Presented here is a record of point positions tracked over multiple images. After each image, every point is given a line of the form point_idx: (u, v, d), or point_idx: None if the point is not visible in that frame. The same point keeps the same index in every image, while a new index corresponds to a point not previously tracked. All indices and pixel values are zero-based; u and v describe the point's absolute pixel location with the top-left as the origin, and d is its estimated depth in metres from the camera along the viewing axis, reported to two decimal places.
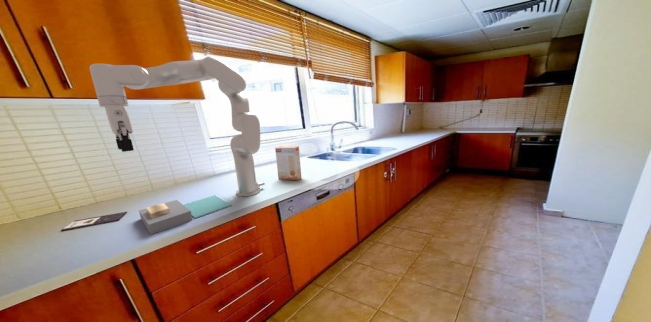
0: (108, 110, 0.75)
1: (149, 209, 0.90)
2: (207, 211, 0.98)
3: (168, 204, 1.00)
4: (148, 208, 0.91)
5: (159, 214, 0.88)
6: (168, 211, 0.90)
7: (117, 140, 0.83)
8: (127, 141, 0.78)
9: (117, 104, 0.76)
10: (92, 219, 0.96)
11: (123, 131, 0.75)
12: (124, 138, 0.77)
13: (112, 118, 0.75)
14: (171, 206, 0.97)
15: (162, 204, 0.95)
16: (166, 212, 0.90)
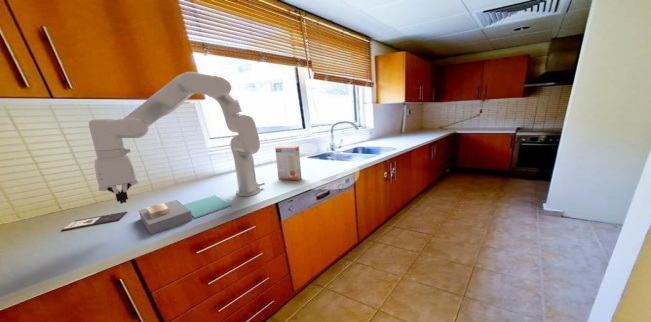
0: (126, 161, 0.81)
1: (149, 209, 0.90)
2: (207, 211, 0.98)
3: (168, 204, 1.00)
4: (148, 208, 0.91)
5: (159, 214, 0.88)
6: (168, 211, 0.90)
7: (121, 194, 0.81)
8: None
9: (125, 155, 0.82)
10: (93, 219, 0.96)
11: (134, 184, 0.85)
12: None
13: (132, 167, 0.83)
14: (171, 206, 0.97)
15: (162, 204, 0.95)
16: (166, 212, 0.90)
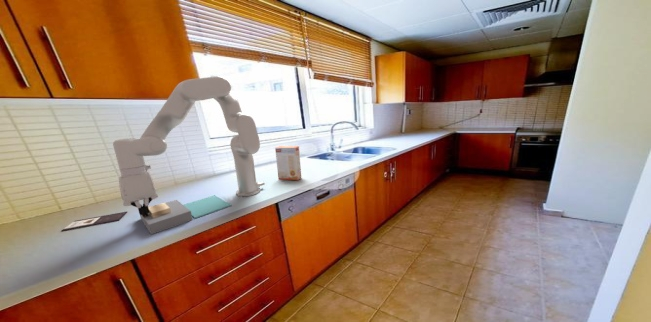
0: (147, 177, 0.86)
1: (150, 209, 0.90)
2: (207, 211, 0.98)
3: (168, 204, 1.00)
4: (149, 208, 0.91)
5: (160, 214, 0.89)
6: (169, 211, 0.91)
7: (143, 208, 0.87)
8: (147, 205, 0.89)
9: None
10: (93, 219, 0.96)
11: None
12: None
13: (153, 182, 0.88)
14: (171, 206, 0.97)
15: (163, 204, 0.95)
16: (167, 212, 0.90)
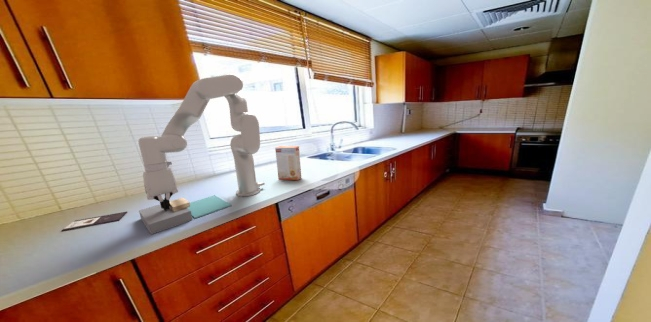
0: (169, 172, 0.91)
1: (171, 203, 0.95)
2: (207, 211, 0.98)
3: None
4: (170, 202, 0.96)
5: (180, 208, 0.93)
6: (188, 205, 0.95)
7: (165, 202, 0.92)
8: (168, 200, 0.94)
9: None
10: (93, 219, 0.96)
11: None
12: None
13: (174, 178, 0.93)
14: None
15: (183, 198, 1.00)
16: (187, 206, 0.95)
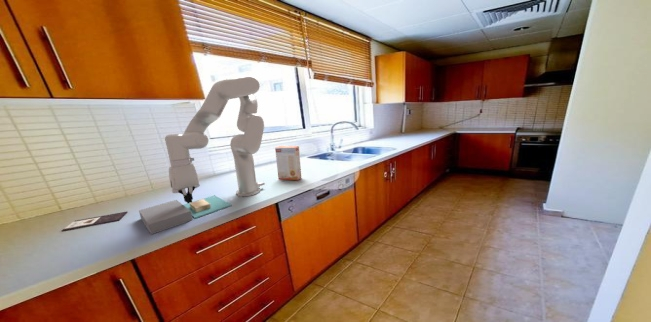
0: (192, 168, 0.97)
1: None
2: (207, 211, 0.98)
3: (168, 204, 1.00)
4: None
5: (204, 206, 1.00)
6: (196, 209, 0.98)
7: (188, 195, 0.98)
8: None
9: None
10: (93, 219, 0.96)
11: None
12: None
13: (196, 173, 0.99)
14: (171, 206, 0.97)
15: None
16: (198, 208, 0.98)
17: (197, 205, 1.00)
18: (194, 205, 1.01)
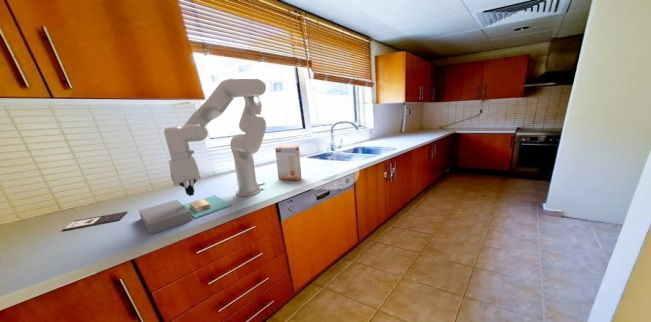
0: (192, 160, 0.97)
1: None
2: (207, 211, 0.98)
3: (168, 204, 1.00)
4: None
5: (204, 206, 1.00)
6: (196, 209, 0.98)
7: (189, 188, 0.98)
8: (192, 186, 1.00)
9: None
10: (93, 219, 0.96)
11: None
12: None
13: None
14: (171, 206, 0.97)
15: None
16: (198, 208, 0.98)
17: (197, 205, 1.00)
18: (194, 205, 1.01)
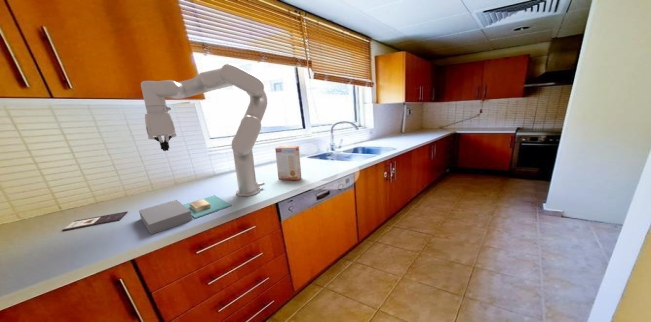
0: (168, 116, 1.01)
1: None
2: (207, 211, 0.98)
3: (168, 204, 1.00)
4: None
5: (204, 206, 1.00)
6: (196, 209, 0.98)
7: (164, 143, 1.02)
8: (167, 142, 1.04)
9: None
10: (93, 219, 0.96)
11: None
12: None
13: (172, 122, 1.03)
14: (171, 206, 0.97)
15: None
16: (198, 208, 0.98)
17: (197, 205, 1.00)
18: (194, 205, 1.01)
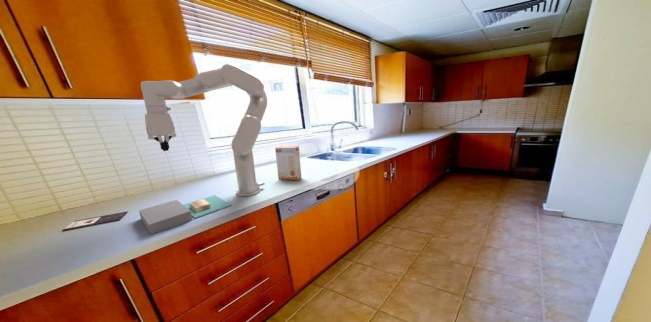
0: (168, 116, 1.01)
1: None
2: (207, 211, 0.98)
3: (168, 204, 1.00)
4: None
5: (204, 206, 1.00)
6: (196, 209, 0.98)
7: (164, 143, 1.02)
8: (167, 142, 1.04)
9: None
10: (93, 219, 0.96)
11: None
12: None
13: (172, 122, 1.03)
14: (171, 206, 0.97)
15: None
16: (198, 208, 0.98)
17: (197, 205, 1.00)
18: (194, 205, 1.01)
